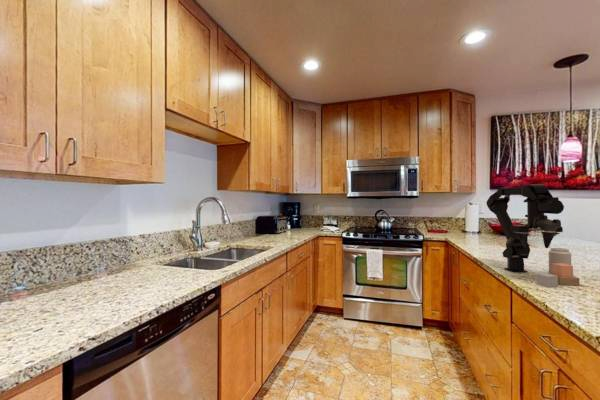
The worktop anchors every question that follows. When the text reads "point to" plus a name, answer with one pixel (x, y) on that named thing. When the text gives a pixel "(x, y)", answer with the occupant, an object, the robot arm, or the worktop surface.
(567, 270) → the terracotta cube
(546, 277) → the slate cube
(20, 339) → the worktop surface
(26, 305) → the worktop surface
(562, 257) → the can
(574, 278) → the walnut base
